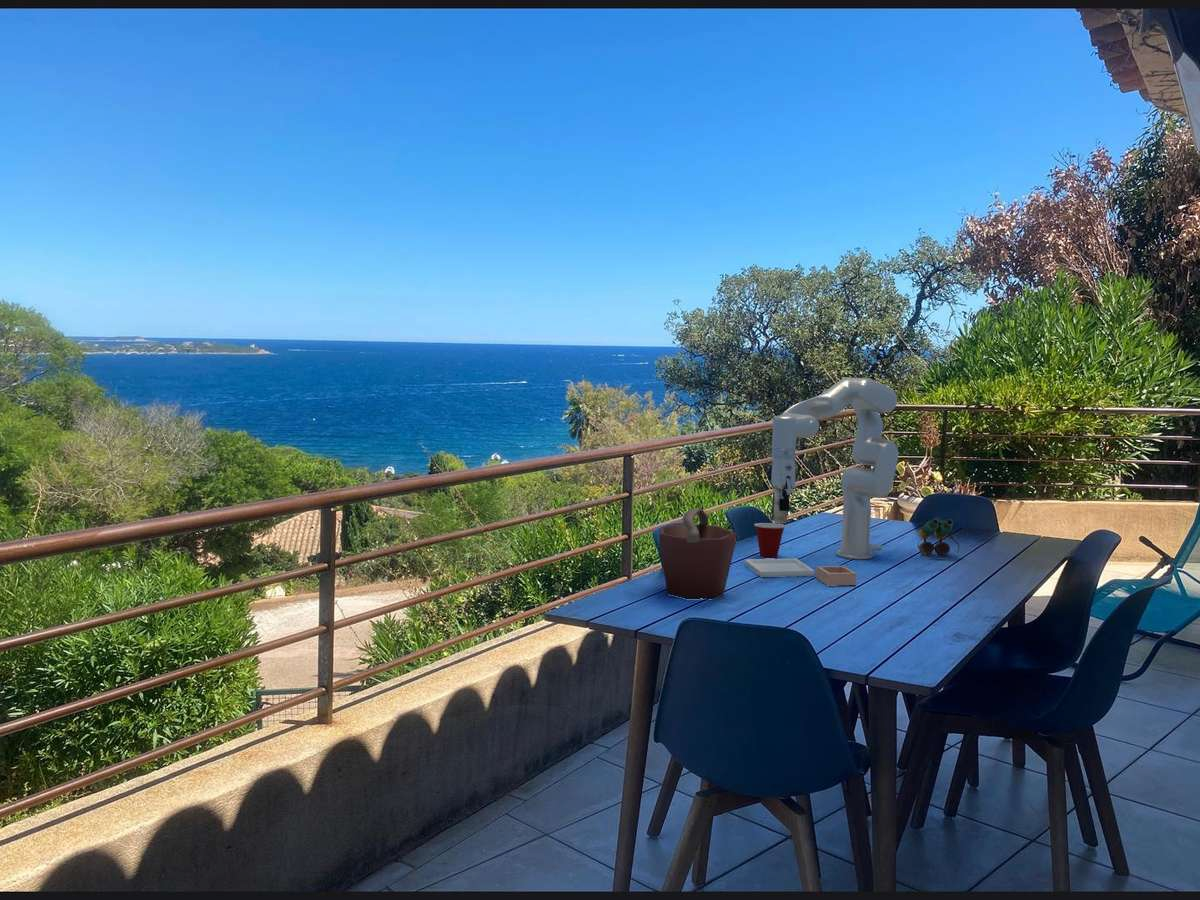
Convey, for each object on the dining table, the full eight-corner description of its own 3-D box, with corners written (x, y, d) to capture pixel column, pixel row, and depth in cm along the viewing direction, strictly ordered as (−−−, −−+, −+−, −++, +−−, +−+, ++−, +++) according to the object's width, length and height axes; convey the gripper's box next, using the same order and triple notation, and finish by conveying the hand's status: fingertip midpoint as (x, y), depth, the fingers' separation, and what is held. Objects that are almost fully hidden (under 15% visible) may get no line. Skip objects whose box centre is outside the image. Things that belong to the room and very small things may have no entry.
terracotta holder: (842, 578, 261) (843, 565, 261) (855, 585, 252) (856, 573, 252) (816, 578, 260) (816, 566, 260) (827, 586, 251) (828, 573, 251)
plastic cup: (782, 554, 292) (783, 521, 291) (786, 561, 281) (787, 527, 280) (751, 553, 293) (752, 520, 292) (754, 560, 282) (755, 526, 281)
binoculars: (954, 566, 292) (950, 526, 299) (967, 554, 280) (962, 513, 286) (914, 564, 294) (910, 524, 300) (925, 552, 281) (921, 511, 287)
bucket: (709, 609, 226) (711, 520, 223) (639, 596, 238) (641, 511, 235) (742, 589, 247) (745, 507, 244) (677, 578, 259) (679, 499, 256)
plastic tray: (795, 564, 278) (795, 558, 278) (814, 576, 263) (814, 570, 262) (744, 565, 276) (744, 559, 275) (760, 577, 260) (760, 571, 260)
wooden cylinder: (784, 520, 270) (785, 484, 268) (789, 523, 265) (790, 486, 264) (771, 520, 269) (772, 484, 268) (776, 523, 265) (777, 486, 263)
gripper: (804, 456, 257) (802, 514, 259) (785, 450, 274) (782, 504, 276) (781, 456, 256) (779, 514, 258) (763, 450, 272) (761, 504, 275)
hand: (781, 508), depth 267 cm, fingers closed on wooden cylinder, 4 cm apart
